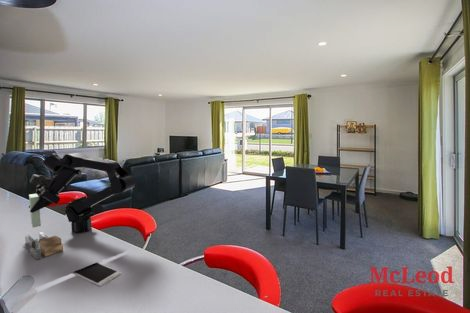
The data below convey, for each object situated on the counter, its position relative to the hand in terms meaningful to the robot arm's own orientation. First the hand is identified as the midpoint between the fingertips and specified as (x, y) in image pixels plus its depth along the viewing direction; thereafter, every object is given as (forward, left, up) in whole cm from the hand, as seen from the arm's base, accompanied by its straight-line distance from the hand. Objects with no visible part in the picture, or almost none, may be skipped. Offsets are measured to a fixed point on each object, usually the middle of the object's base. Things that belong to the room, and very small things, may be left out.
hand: (30, 209), depth 96 cm
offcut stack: (-15, +11, -11) cm, 22 cm away
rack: (-9, +8, -12) cm, 18 cm away
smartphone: (-36, +23, -13) cm, 44 cm away
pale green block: (-1, -1, -6) cm, 7 cm away
